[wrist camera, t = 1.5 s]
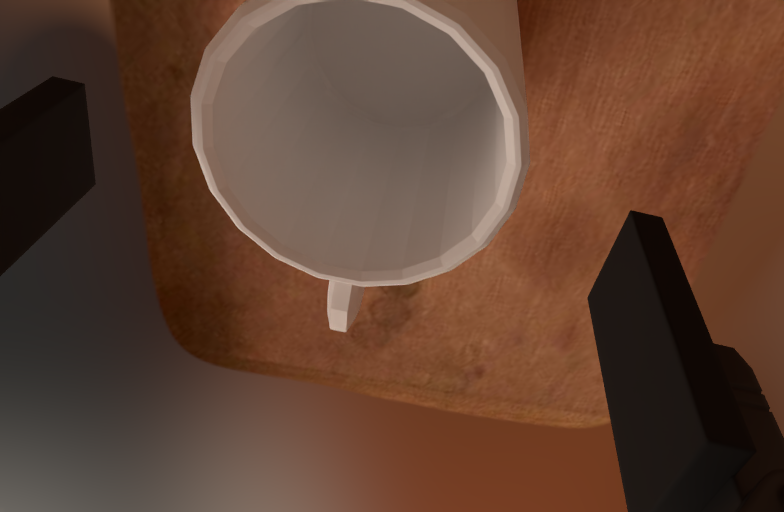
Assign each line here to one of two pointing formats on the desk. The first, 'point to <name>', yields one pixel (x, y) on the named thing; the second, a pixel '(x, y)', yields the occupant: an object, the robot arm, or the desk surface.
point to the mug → (365, 134)
